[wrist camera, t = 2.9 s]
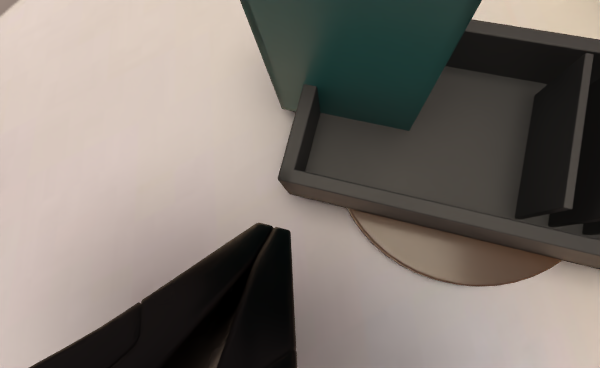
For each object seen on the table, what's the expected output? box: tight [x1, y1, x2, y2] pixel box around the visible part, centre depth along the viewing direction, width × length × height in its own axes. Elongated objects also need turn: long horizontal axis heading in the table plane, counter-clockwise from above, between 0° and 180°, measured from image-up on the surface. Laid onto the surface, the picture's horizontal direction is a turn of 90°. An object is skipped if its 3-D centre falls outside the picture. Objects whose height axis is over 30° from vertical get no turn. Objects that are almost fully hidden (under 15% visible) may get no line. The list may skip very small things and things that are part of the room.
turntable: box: [348, 208, 562, 286], centre depth 19 cm, size 13×13×1 cm
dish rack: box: [240, 0, 600, 269], centre depth 12 cm, size 8×18×12 cm, turn 76°
